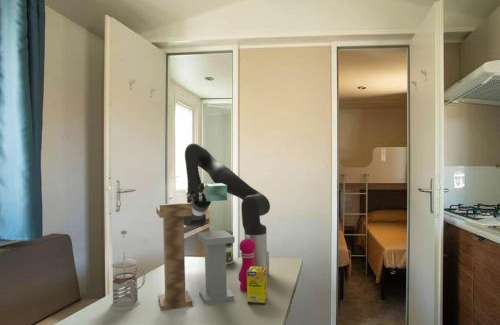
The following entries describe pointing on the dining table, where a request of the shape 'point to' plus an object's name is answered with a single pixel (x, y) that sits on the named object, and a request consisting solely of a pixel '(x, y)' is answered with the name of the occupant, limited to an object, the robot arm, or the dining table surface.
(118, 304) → the french press
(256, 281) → the supplement box
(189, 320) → the dining table surface
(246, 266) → the pepper mill
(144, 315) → the dining table surface
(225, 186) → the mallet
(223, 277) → the slate pedestal
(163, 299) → the walnut stand
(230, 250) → the coffee can
